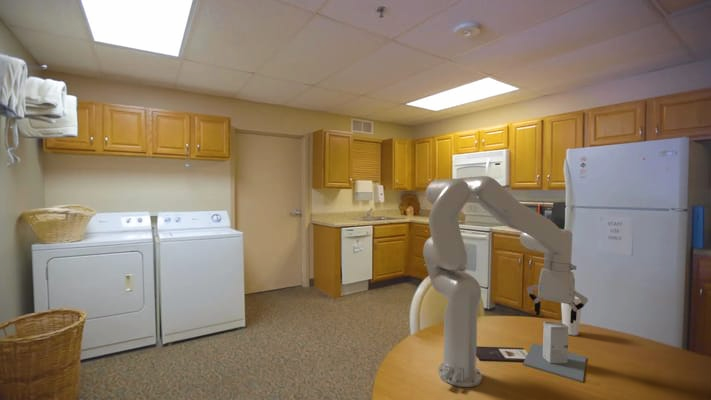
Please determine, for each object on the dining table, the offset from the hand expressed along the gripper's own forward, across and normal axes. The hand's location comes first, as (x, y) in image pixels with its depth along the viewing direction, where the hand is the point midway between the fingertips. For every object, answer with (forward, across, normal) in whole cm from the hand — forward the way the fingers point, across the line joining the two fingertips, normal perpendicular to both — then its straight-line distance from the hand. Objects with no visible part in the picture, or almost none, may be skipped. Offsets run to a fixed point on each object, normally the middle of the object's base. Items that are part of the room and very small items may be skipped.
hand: (554, 318), depth 108 cm
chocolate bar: (+16, +14, +5) cm, 22 cm away
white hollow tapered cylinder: (+14, -3, -30) cm, 33 cm away
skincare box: (+14, -1, -1) cm, 14 cm away
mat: (+15, -1, -1) cm, 15 cm away
